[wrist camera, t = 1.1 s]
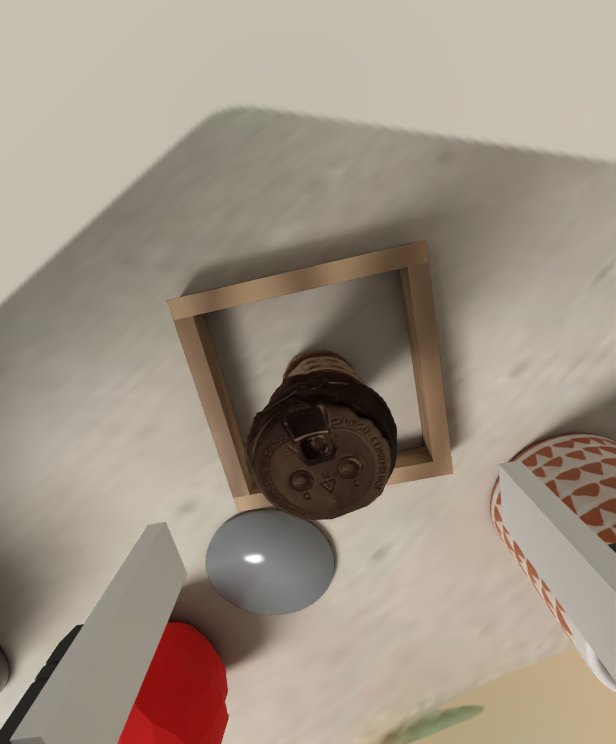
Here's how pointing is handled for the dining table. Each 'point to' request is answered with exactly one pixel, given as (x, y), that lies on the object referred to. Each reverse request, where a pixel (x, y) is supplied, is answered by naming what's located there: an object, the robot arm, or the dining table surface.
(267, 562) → the flat grey disc
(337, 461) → the coffee cup
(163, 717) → the tomato
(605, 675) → the planter
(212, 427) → the square wooden frame
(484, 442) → the dining table surface
